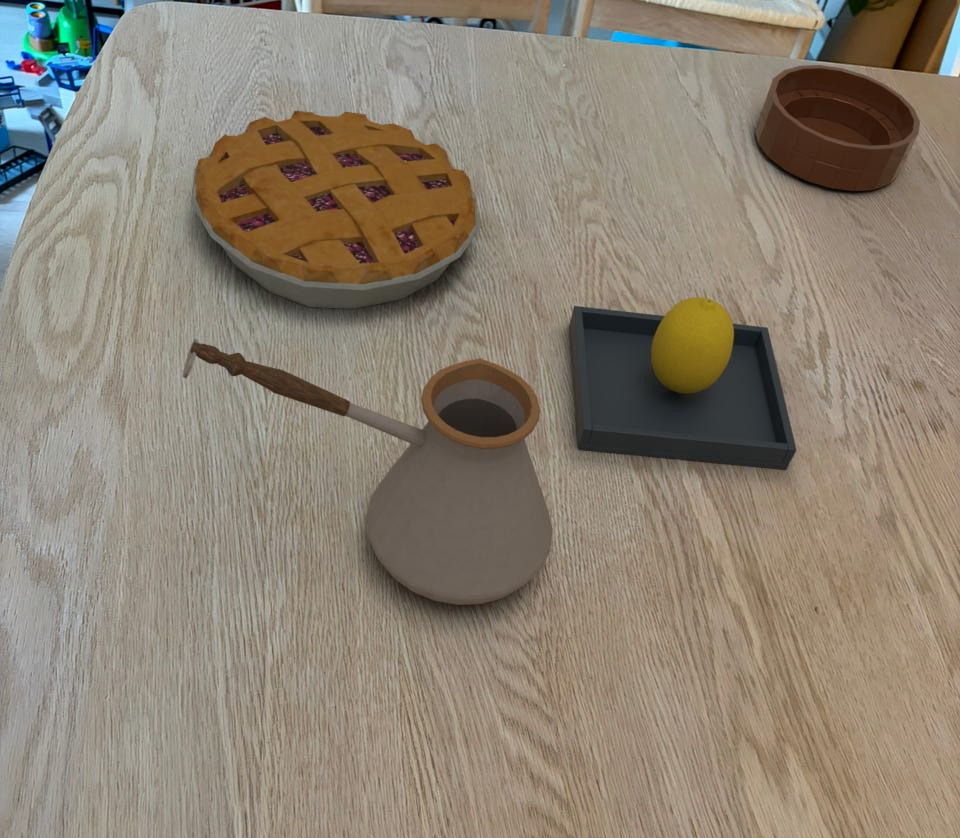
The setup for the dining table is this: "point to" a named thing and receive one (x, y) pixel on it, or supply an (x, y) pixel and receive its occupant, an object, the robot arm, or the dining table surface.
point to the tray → (675, 396)
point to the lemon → (692, 345)
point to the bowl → (836, 127)
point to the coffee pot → (445, 479)
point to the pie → (335, 208)
